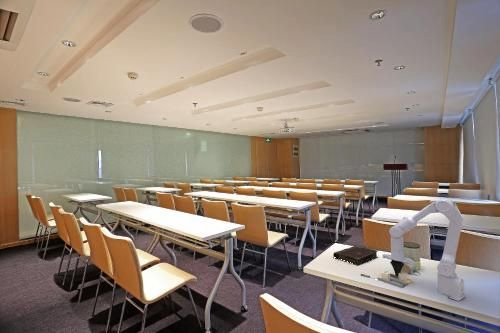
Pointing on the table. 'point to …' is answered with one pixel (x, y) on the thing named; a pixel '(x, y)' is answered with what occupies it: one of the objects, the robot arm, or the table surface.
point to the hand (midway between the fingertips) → (397, 275)
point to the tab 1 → (385, 275)
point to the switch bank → (401, 282)
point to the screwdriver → (367, 276)
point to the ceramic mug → (410, 268)
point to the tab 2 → (403, 276)
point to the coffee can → (412, 252)
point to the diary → (356, 255)
